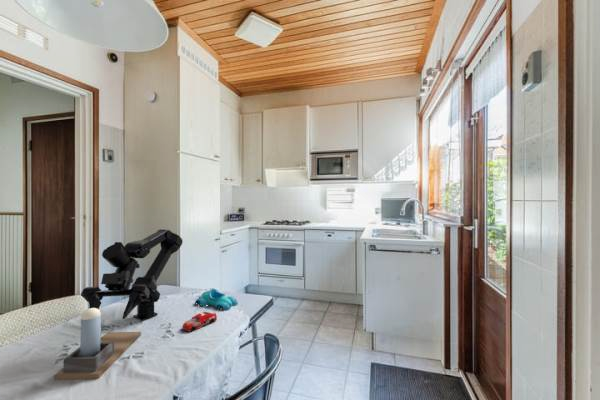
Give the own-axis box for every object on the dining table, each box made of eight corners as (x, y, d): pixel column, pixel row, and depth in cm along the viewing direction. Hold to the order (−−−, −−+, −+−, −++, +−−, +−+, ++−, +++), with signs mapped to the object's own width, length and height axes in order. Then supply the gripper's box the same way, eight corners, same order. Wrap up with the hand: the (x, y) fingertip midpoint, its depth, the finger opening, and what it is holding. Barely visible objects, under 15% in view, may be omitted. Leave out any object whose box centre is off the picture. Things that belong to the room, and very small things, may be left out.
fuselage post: (79, 361, 74) (80, 308, 74) (98, 355, 77) (99, 304, 77) (80, 369, 71) (81, 313, 71) (101, 362, 74) (102, 308, 74)
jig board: (107, 335, 91) (107, 322, 91) (141, 335, 92) (141, 321, 92) (53, 379, 69) (54, 361, 69) (98, 378, 70) (99, 360, 70)
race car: (187, 334, 93) (187, 323, 93) (179, 329, 97) (179, 319, 96) (219, 321, 104) (219, 311, 104) (210, 317, 107) (211, 307, 107)
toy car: (208, 297, 128) (209, 283, 128) (240, 303, 122) (240, 289, 122) (192, 305, 118) (192, 290, 118) (225, 312, 112) (226, 297, 112)
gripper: (84, 262, 85) (59, 311, 75) (146, 261, 89) (131, 307, 78) (98, 279, 93) (77, 325, 83) (155, 277, 97) (142, 321, 86)
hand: (107, 319), depth 82 cm, fingers open, 9 cm apart
